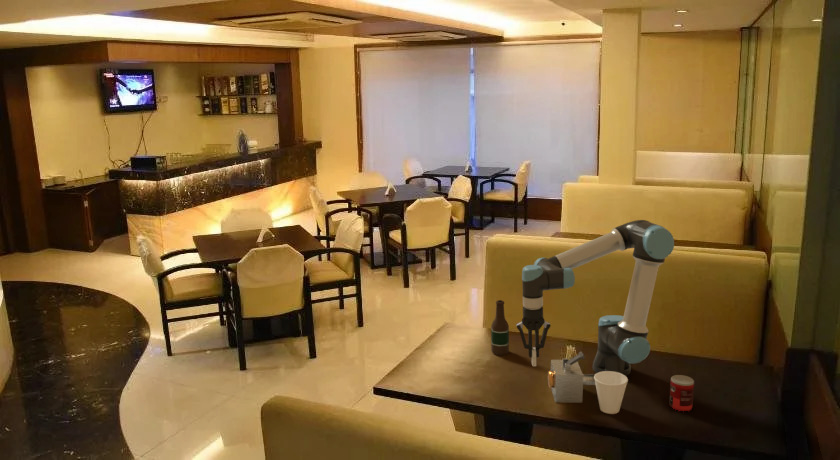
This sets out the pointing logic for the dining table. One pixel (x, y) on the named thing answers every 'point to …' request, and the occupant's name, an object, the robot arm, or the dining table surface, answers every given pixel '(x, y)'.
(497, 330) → the beer bottle
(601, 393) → the cup
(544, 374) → the dining table surface
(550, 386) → the pin
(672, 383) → the canned food
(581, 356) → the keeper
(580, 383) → the hitch block
